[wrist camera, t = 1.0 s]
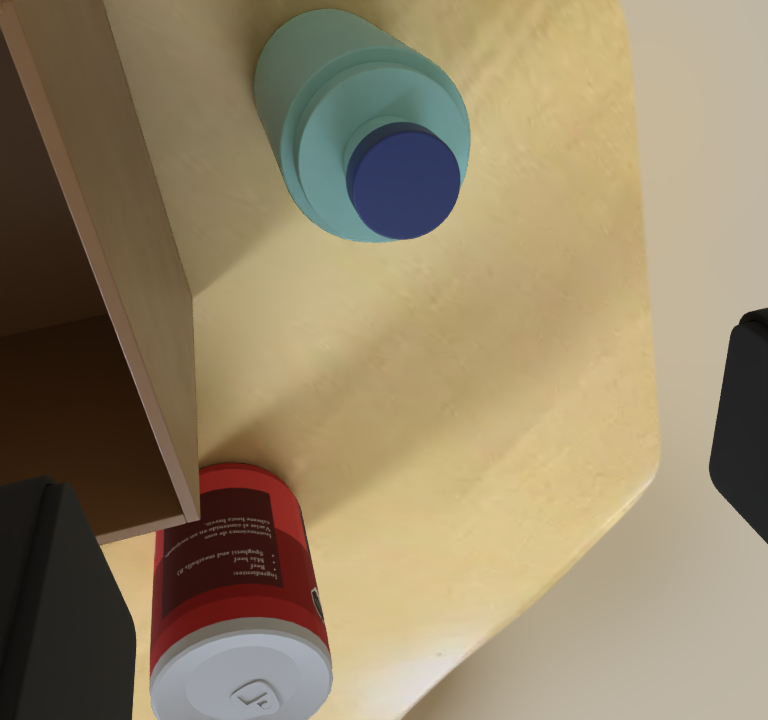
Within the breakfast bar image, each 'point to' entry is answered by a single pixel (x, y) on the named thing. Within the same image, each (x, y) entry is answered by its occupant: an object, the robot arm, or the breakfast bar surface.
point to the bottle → (361, 127)
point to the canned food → (238, 606)
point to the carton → (89, 282)
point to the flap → (1, 8)
